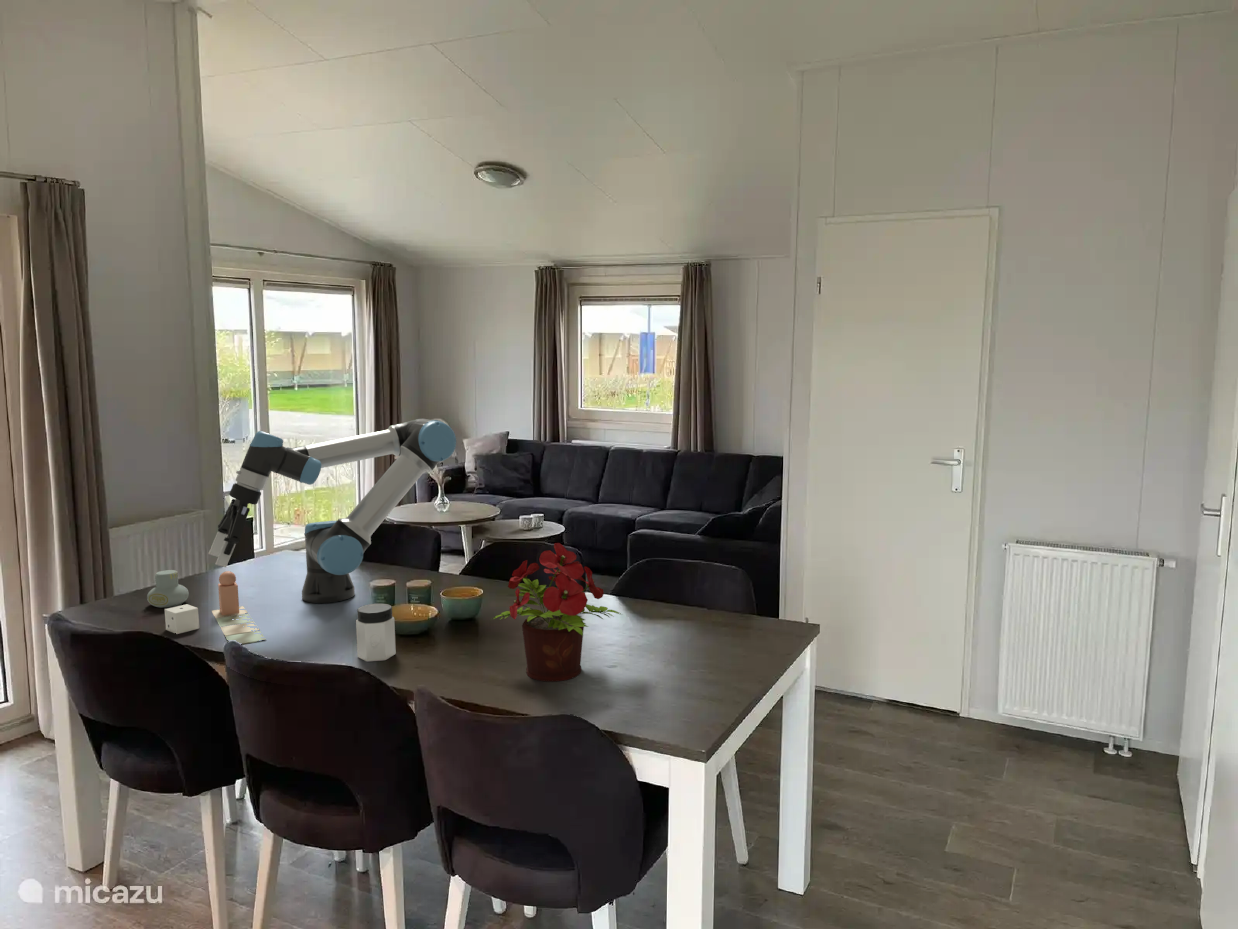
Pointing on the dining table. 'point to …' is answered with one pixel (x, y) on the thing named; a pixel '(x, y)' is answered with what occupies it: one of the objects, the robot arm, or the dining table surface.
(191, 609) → the die
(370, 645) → the jar
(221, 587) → the orange-brown peg figure
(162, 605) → the air freshener
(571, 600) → the potted plant
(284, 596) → the dining table surface
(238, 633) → the track
